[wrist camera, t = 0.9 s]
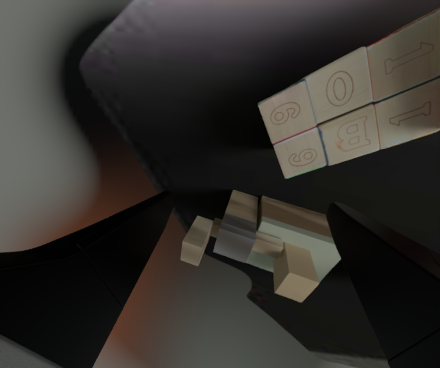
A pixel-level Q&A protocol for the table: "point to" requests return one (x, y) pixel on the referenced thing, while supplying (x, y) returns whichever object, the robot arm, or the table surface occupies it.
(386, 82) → the stack of blocks
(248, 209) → the toolbox
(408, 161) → the table surface
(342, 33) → the table surface
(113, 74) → the table surface
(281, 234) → the plate with block handle
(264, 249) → the wooden mallet
